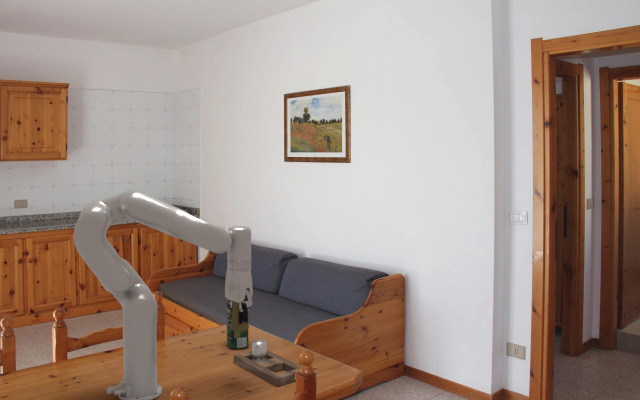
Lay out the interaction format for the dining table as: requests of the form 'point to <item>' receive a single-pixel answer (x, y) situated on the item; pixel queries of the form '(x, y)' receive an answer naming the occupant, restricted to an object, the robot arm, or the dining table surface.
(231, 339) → the coffee jar
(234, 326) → the olive brown tall piece
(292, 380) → the socket board
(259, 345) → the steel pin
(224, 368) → the dining table surface
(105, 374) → the dining table surface
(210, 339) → the dining table surface
